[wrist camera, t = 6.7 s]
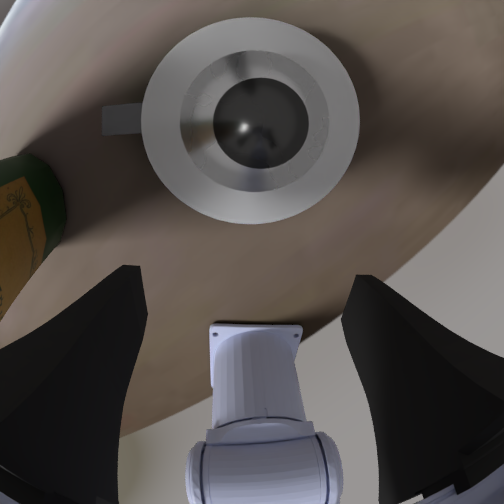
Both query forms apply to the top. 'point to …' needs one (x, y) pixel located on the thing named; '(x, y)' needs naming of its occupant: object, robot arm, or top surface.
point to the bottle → (26, 222)
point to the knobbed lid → (254, 121)
